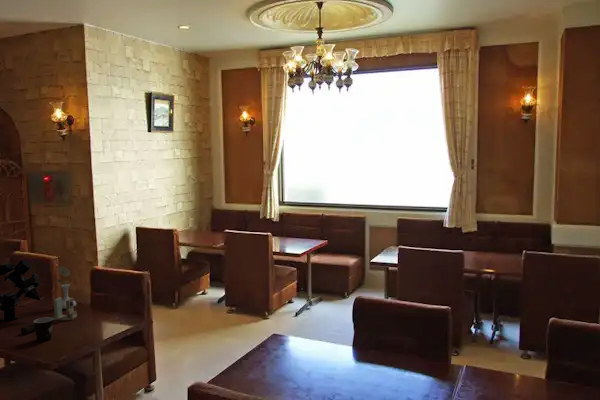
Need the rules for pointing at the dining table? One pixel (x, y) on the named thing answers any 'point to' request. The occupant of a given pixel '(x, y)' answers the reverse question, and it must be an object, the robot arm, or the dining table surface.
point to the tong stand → (68, 311)
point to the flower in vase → (65, 286)
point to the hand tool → (28, 329)
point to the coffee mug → (43, 328)
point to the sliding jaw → (58, 307)
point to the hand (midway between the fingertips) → (39, 299)
